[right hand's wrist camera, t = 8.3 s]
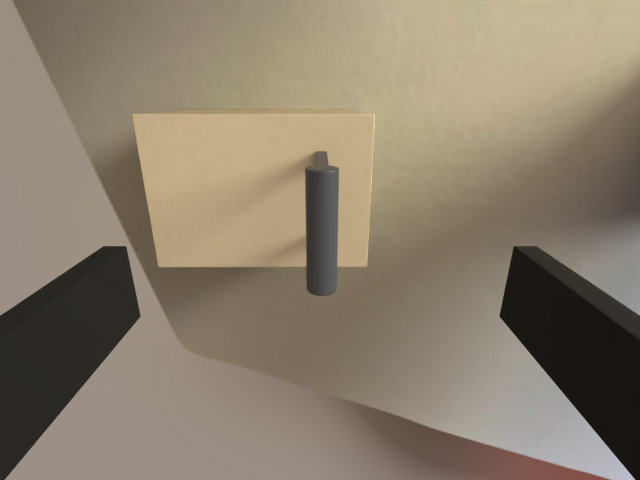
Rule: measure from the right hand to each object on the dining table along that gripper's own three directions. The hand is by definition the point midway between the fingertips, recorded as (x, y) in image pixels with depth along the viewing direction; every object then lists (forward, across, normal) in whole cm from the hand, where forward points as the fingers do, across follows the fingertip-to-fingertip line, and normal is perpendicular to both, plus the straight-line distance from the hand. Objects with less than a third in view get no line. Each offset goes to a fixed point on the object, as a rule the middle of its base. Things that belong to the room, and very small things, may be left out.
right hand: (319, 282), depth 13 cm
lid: (+13, -4, 0) cm, 13 cm away
